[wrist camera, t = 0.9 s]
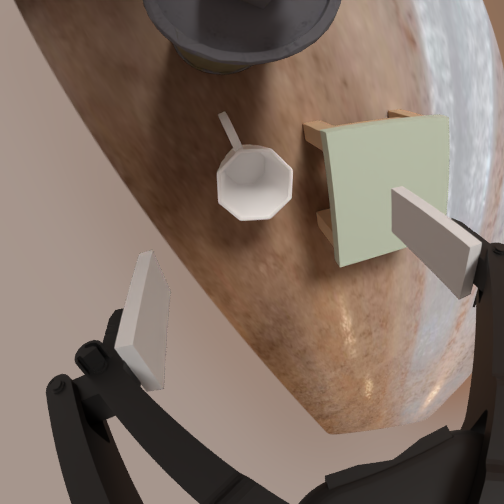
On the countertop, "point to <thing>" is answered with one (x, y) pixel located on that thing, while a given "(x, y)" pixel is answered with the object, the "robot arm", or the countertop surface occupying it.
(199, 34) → the canister
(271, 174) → the cup
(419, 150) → the stool
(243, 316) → the countertop surface
